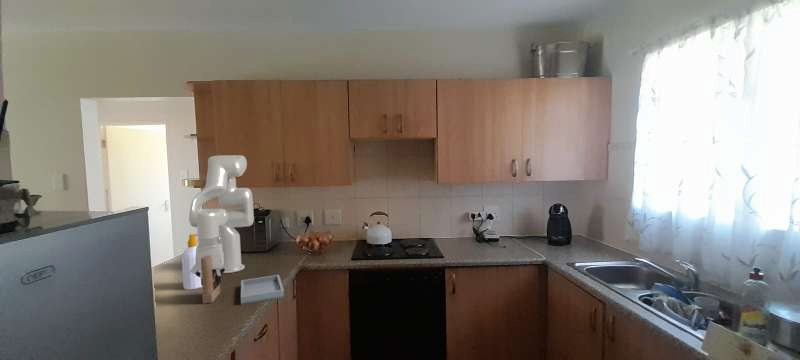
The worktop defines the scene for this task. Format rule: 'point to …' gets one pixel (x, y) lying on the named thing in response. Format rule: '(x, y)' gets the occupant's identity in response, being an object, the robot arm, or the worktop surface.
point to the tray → (261, 289)
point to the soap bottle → (190, 265)
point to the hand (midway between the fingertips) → (211, 285)
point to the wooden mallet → (209, 281)
